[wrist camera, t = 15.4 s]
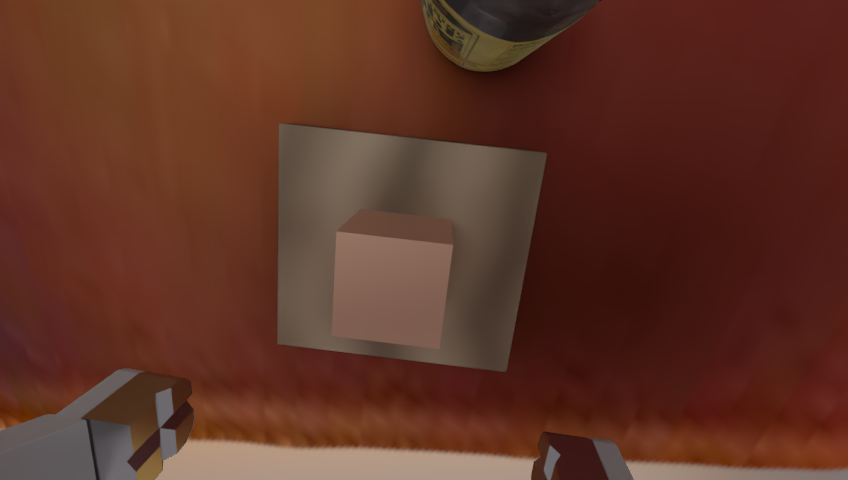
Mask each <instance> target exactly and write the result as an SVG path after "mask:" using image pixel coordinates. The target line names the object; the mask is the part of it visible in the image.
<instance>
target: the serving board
mask: <svg viewBox="0 0 848 480" xmlns="http://www.w3.org/2000/svg"><path fill="white" fill-rule="evenodd" d="M546 157H547V153H544V152H540V151H532V150H523V149H514V148H505V147H496V146H487V145H479V144H470V143H461V142H452V141H443V140H434V139H425V138H416V137H407V136H398V135H389V134H380V133H371V132H362V131H353V130H344V129H335V128H326V127H317V126H308V125H299V124H285V123H279V199H278V339H277V344H281V345H289V346H297V347H306V348H314V349H322V350H330V351H338V352H346V353H355V354H363V355H371V356H379V357H387V358H395V359H404V360H412V361H420V362H428V363H436V364H444V365H453V366H461V367H469V368H477V369H485V370H493V371H501V372H506V371H507V365H508V360H509V355H510V349H511V344H512V339H513V333H514V328H515V323H516V317H517V312H518V307H519V301H520V296H521V291H522V285H523V280H524V275H525V269H526V264H527V259H528V253H529V248H530V243H531V237H532V232H533V227H534V221H535V216H536V211H537V205H538V200H539V195H540V189H541V184H542V179H543V173H544V168H545V163H546ZM360 209H366V210H375V211H384V212H392V213H401V214H410V215H418V216H427V217H436V218H444V219H451V223H452V236H453V250H452V258H451V265H450V273H449V280H448V288H447V295H446V303H445V310H444V318H443V326H442V333H441V341H440V348H439V349H434V348H426V347H418V346H409V345H401V344H393V343H385V342H377V341H368V340H360V339H352V338H344V337H336V336H331V333H332V313H333V292H334V271H335V251H336V231H337V230H338V229H339V228H341V227H342V226H343V225H344V224H345V223H346V222H347V221H348V220H349V219H350V218H351V217H352V216H353V215H354V214H355V213H356V212H357V211H359V210H360Z"/></svg>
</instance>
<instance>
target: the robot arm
mask: <svg viewBox="0 0 848 480" xmlns="http://www.w3.org/2000/svg"><path fill="white" fill-rule="evenodd" d="M191 395H192V386H191V381H189V380H188V379H186V378H182V377H176V376H171V375H165V374H159V373H154V372H148V371H146V372H145V371H140V370H134V369H128V368H125V369H120V370H117V371H116V372H114V373H113V374H112V375H110V376H109V377H107V378H106V379H105V380H103V381H102V382H100V383H99V384H98V385H96V386H95V387H93V388H92V389H91V390H89V391H88V392H86V393H85V394H84V395H82V396H81V397H80V398H78V399H77V400H75V401H74V402H73V403H71V404H70V405H68V406H67V407H66V408H64V409H63V410H61V411H60V412H59V413H57V414H56V415H52V414H47V415H44V416H41V417H38V418H35V419H32V420H30V421H27V422H24V423H21V424H18V425H15V426H13V427H10V428H7V429H4V430H1V431H0V480H155V479H156V477H157V476H158V475H159V474H160V473H161V472H162V470H163V460H165V459H167V458H169V457H171V456H173V455H175V454H177V453H178V452H179V450H180V449H181V448H182V447H183V446H184V444H185V443H186V441H187V439H188V437H189V435H190V433H191V431H192V428H193V422H194V409H193V408H192V407H191V406H190V404H189V403H188V402H187V400H188V398H189V397H190V396H191ZM538 449H539V453H540V458H538V459H537V460H536V461H534V464H533V470H532V475H531V480H634V479H633V477H632V475H631V473H630V471H629V469H628V467H627V465H626V463H625V461H624V459H623V457H622V455H621V453H620V451H619V449H618V447H617V445H616V444H615V443H614V442H613V441H612V440H604V439H596V438H585V437H578V436H571V435H564V434H557V433H550V432H542V434H541V436H540V439H539V443H538Z"/></svg>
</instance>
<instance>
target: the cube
mask: <svg viewBox="0 0 848 480" xmlns="http://www.w3.org/2000/svg"><path fill="white" fill-rule="evenodd" d="M452 250H453V236H452V223H451V219H444V218H436V217H427V216H418V215H410V214H401V213H392V212H384V211H375V210H366V209H360V210H359V211H357V212H356V213H355V214H354V215H353V216H352V217H351V218H350V219H349V220H348V221H347V222H346V223H345V224H344V225H343V226H342V227H341V228H339V229H338V230H337V231H336V251H335V271H334V292H333V313H332V333H331V336H336V337H344V338H352V339H360V340H368V341H377V342H385V343H393V344H401V345H409V346H418V347H426V348H434V349H439V348H440V341H441V333H442V326H443V318H444V310H445V303H446V295H447V288H448V280H449V273H450V265H451V258H452Z"/></svg>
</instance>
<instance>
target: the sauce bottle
mask: <svg viewBox="0 0 848 480" xmlns="http://www.w3.org/2000/svg"><path fill="white" fill-rule="evenodd" d="M600 1H601V0H421V2H422V8H423V14H424V19H425V23H426V27H427V29H428V32H429V34H430V36H431V39H432V41H433V42H434V44H435V45H436V47H437V48H438V49H439V50H440V51H441V52H442V54H443V55H445V56H446V57H447V58H448V59H449V60H451V61H452V62H454V63H455V64H457V65H458V66H460V67H462V68H465V69H468V70H473V71H483V72H485V71H496V70H501V69H504V68H506V67H509V66H512V65H514V64H516V63H517V62H519V61H520V60H521V59H523V58H524V57H526V56H527V55H529V54H530V53H531V52H533V51H534V50H536V49H537V48H539V47H540V46H542V45H543V44H545V43H546V42H548V41H549V40H551V39H552V38H553V37H555V36H556V35H558V34H560V33H561V32H563V31H564V30H565V29H567V28H568V27H570V26H571V25H573V24H574V23H576V22H577V21H578V20H580V19H581V18H582V17H583V16H584V15H586V14H587V13H588V12H589V11H590V10H591V9H592V8H593V7H594V6H595V5H596V4H597V3H598V2H600Z"/></svg>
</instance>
